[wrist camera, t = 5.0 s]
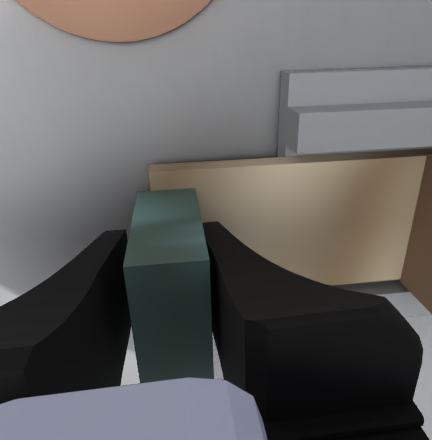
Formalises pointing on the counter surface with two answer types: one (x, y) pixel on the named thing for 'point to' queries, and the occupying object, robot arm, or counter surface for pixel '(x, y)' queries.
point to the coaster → (115, 16)
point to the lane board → (358, 128)
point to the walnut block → (421, 244)
